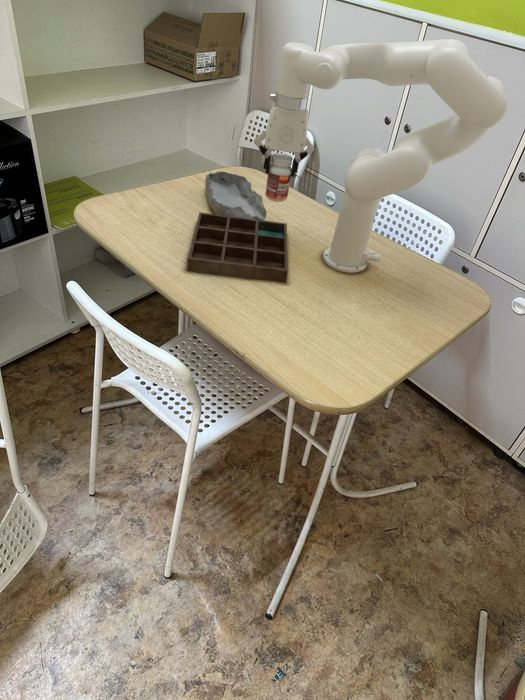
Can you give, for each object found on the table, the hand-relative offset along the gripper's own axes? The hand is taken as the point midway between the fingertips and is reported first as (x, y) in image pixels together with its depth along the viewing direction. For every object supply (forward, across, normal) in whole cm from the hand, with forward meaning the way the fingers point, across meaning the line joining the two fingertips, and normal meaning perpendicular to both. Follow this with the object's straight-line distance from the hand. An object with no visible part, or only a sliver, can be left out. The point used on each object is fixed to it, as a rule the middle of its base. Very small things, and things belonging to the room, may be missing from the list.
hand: (279, 172), depth 138 cm
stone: (+21, -13, +18) cm, 31 cm away
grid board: (+21, -8, -8) cm, 24 cm away
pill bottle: (+7, 0, 0) cm, 7 cm away
